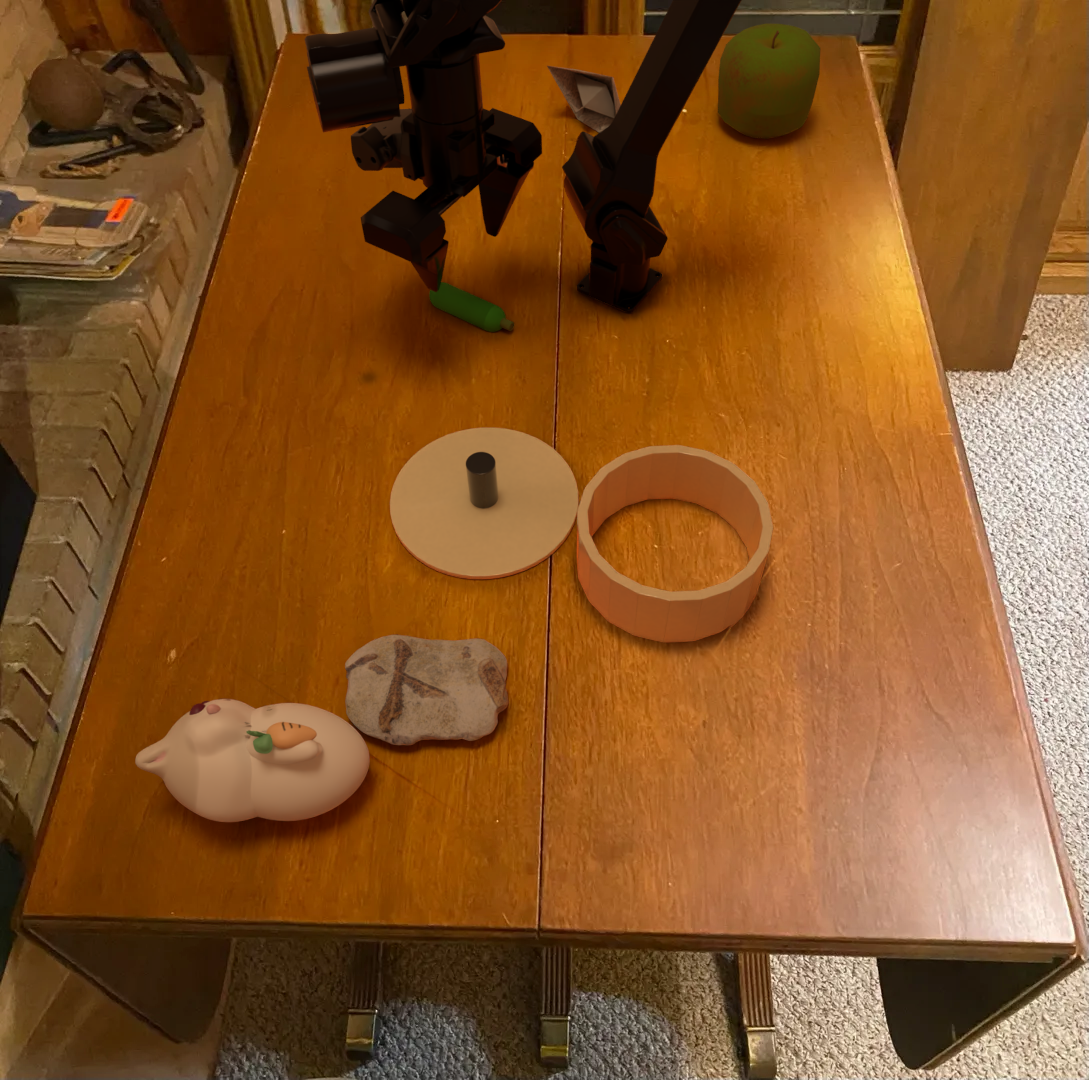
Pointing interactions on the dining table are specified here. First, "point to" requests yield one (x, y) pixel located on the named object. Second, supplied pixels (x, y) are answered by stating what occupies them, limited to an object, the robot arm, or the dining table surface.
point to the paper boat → (588, 95)
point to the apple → (768, 80)
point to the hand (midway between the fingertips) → (463, 261)
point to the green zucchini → (470, 308)
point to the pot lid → (484, 503)
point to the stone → (426, 689)
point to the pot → (685, 480)
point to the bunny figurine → (258, 761)
